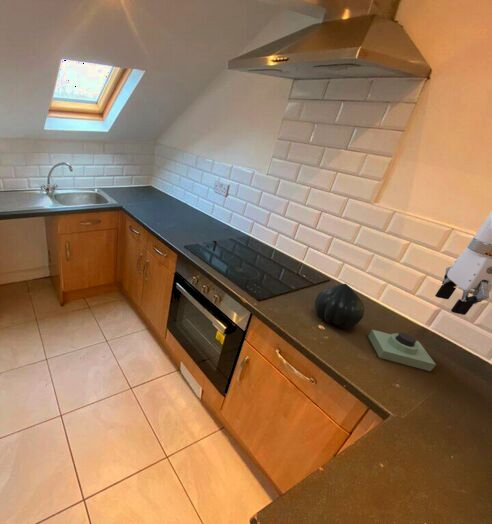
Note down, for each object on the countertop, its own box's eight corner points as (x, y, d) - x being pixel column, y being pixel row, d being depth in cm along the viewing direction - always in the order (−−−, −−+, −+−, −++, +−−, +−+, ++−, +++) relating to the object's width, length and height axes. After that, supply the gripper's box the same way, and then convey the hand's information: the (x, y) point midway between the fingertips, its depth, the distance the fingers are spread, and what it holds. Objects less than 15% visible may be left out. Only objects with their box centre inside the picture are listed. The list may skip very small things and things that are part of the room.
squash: (348, 328, 97) (373, 291, 98) (303, 306, 108) (327, 272, 109) (350, 340, 108) (373, 306, 108) (309, 318, 118) (331, 287, 119)
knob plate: (413, 347, 101) (421, 336, 99) (430, 371, 92) (439, 359, 89) (367, 336, 104) (374, 324, 102) (379, 357, 95) (386, 345, 93)
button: (409, 339, 97) (412, 334, 96) (415, 348, 93) (418, 343, 93) (393, 335, 98) (396, 331, 97) (399, 344, 94) (402, 339, 94)
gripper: (534, 267, 69) (485, 327, 77) (483, 240, 84) (447, 293, 92) (494, 259, 70) (451, 319, 79) (452, 234, 85) (419, 287, 94)
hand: (449, 304), depth 85 cm, fingers open, 7 cm apart
